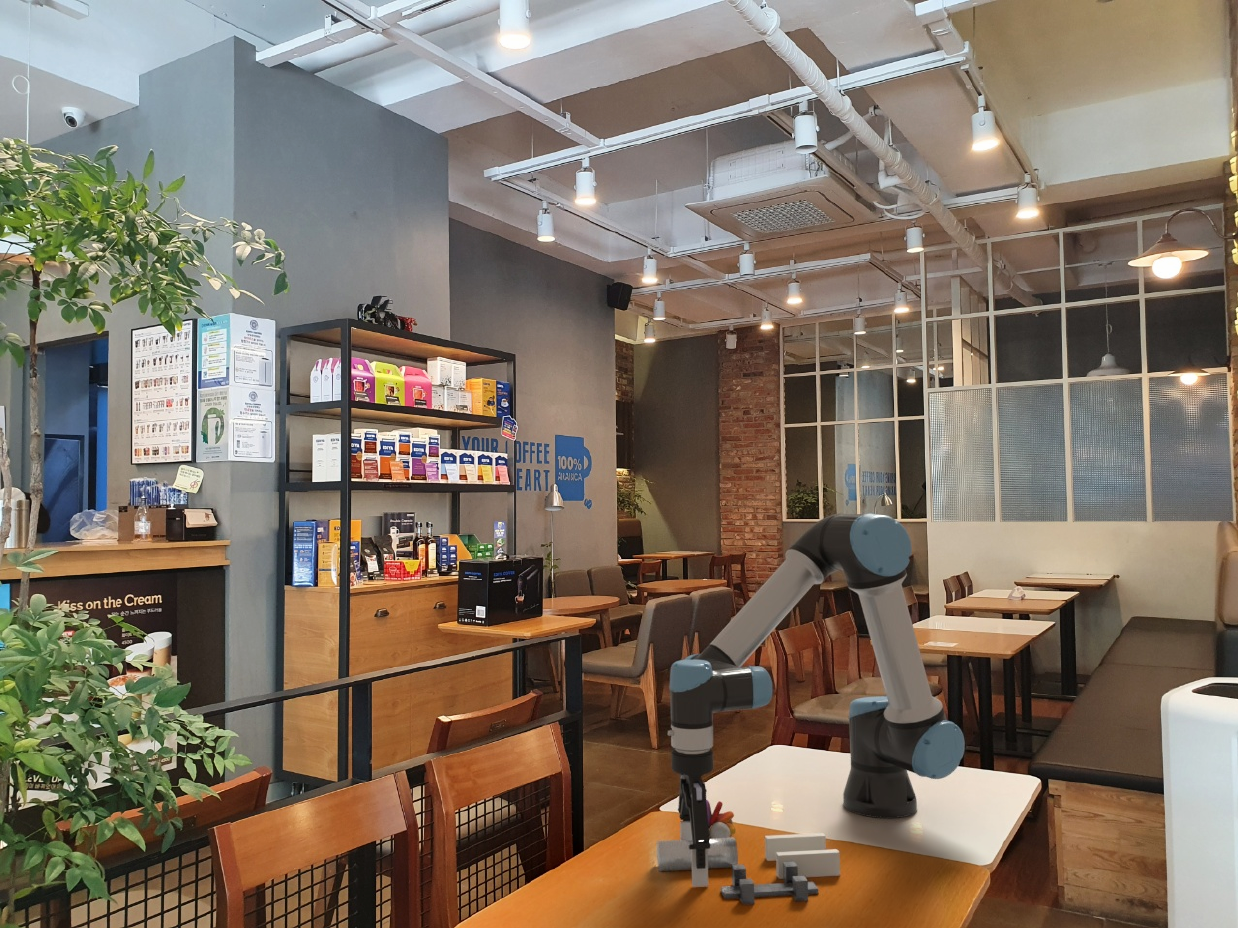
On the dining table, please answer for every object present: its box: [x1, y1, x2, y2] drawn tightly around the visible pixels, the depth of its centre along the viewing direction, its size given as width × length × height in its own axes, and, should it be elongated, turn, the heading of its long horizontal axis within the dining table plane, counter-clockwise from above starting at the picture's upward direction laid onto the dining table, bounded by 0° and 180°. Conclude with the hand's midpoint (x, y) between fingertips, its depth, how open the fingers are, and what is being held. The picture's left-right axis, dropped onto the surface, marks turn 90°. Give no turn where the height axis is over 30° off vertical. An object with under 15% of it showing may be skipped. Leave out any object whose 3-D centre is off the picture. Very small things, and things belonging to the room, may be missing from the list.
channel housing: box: [764, 832, 841, 880], centre depth 165 cm, size 11×10×4 cm
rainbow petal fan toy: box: [706, 799, 736, 839], centre depth 180 cm, size 8×10×7 cm
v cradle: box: [720, 862, 819, 906], centre depth 154 cm, size 16×8×3 cm, turn 95°
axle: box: [656, 836, 739, 872], centre depth 166 cm, size 14×5×5 cm
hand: (694, 870), depth 163 cm, fingers open, 12 cm apart
